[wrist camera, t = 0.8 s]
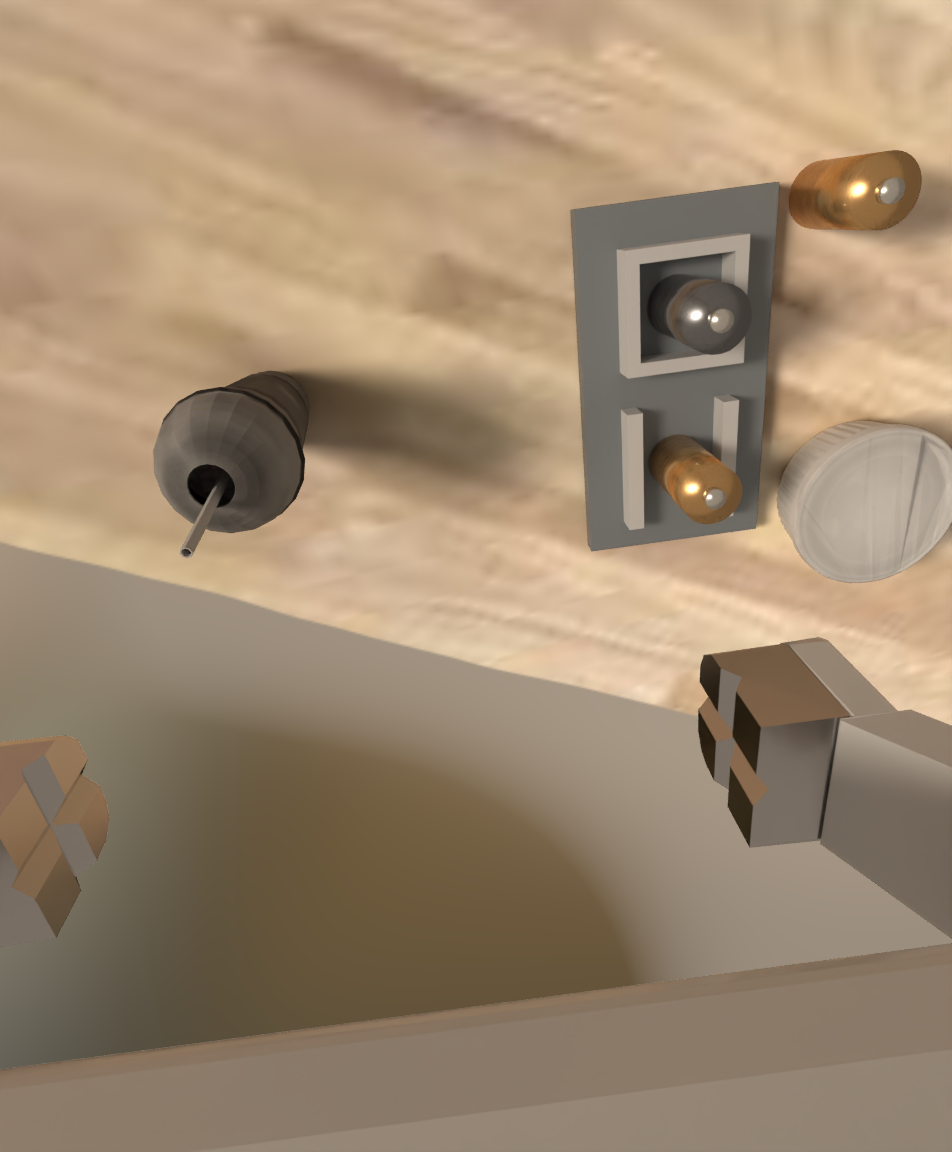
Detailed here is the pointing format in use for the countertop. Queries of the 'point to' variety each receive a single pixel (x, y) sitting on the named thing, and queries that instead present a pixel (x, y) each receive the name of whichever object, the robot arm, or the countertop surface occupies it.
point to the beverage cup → (233, 454)
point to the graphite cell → (700, 312)
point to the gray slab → (668, 355)
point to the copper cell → (856, 191)
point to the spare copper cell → (695, 479)
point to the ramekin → (867, 499)
